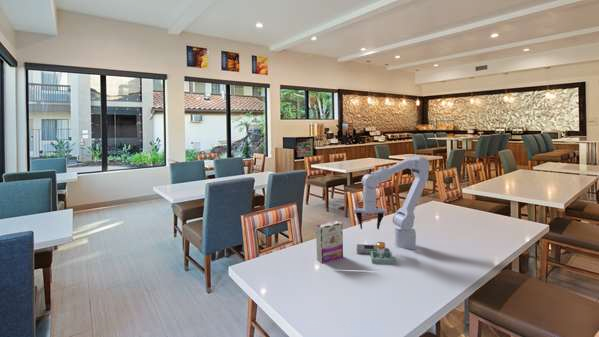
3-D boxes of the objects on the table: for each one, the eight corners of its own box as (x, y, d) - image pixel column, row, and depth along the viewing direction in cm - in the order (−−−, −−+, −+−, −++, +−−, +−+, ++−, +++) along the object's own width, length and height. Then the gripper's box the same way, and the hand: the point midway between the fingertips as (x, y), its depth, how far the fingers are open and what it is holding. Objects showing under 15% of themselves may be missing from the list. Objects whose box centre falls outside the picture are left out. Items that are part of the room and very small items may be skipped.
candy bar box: (337, 254, 148) (336, 220, 146) (343, 258, 143) (343, 222, 141) (316, 260, 143) (315, 224, 141) (322, 264, 138) (321, 227, 136)
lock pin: (382, 256, 143) (382, 241, 142) (386, 259, 140) (386, 244, 139) (375, 258, 142) (374, 242, 141) (379, 261, 139) (379, 245, 138)
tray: (391, 256, 144) (391, 251, 144) (393, 265, 135) (393, 259, 135) (370, 255, 146) (370, 250, 145) (371, 264, 137) (371, 258, 137)
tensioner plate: (389, 250, 152) (389, 245, 151) (390, 256, 145) (391, 250, 144) (356, 249, 154) (356, 244, 154) (356, 255, 147) (356, 249, 147)
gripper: (384, 198, 153) (384, 226, 154) (353, 198, 155) (353, 225, 157) (386, 201, 146) (386, 230, 148) (353, 201, 148) (354, 230, 150)
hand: (369, 228), depth 152 cm, fingers open, 7 cm apart
